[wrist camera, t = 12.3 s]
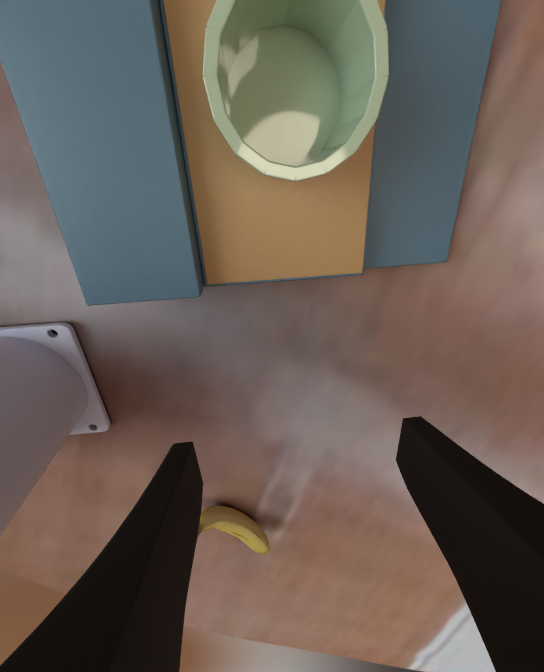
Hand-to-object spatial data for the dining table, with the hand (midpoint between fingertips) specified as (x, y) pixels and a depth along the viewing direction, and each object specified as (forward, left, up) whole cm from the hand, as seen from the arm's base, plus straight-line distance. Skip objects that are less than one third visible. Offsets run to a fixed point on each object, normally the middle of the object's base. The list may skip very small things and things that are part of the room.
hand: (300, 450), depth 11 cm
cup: (+1, +11, -7) cm, 13 cm away
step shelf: (+1, +11, -9) cm, 14 cm away
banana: (-4, -17, -10) cm, 20 cm away
